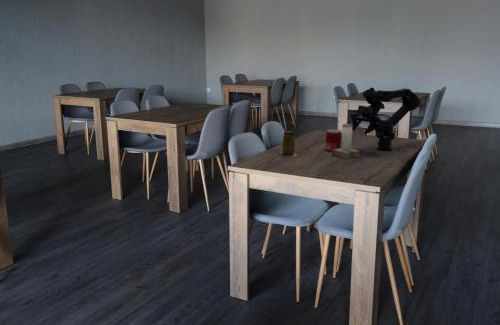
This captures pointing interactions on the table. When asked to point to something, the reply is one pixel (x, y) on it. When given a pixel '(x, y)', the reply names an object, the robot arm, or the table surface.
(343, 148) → the tumbler
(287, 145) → the condiment
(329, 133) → the canned food
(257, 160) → the table surface
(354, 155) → the plinth
